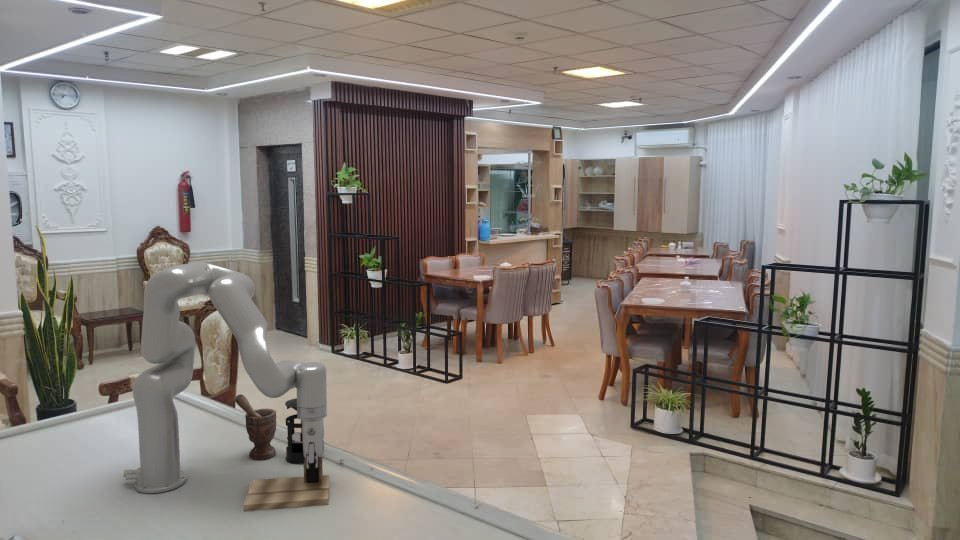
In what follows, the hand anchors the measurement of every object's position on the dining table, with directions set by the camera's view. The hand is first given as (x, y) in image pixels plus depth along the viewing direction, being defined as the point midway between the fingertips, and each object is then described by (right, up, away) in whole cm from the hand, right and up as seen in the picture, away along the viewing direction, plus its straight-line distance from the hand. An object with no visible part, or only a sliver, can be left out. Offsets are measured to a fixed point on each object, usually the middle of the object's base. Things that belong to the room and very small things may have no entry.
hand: (313, 477), depth 174 cm
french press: (-8, -1, +21) cm, 23 cm away
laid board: (-5, -4, -7) cm, 10 cm away
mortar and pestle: (-21, -1, +21) cm, 30 cm away
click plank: (-6, -3, -1) cm, 7 cm away
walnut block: (0, 0, 0) cm, 0 cm away
